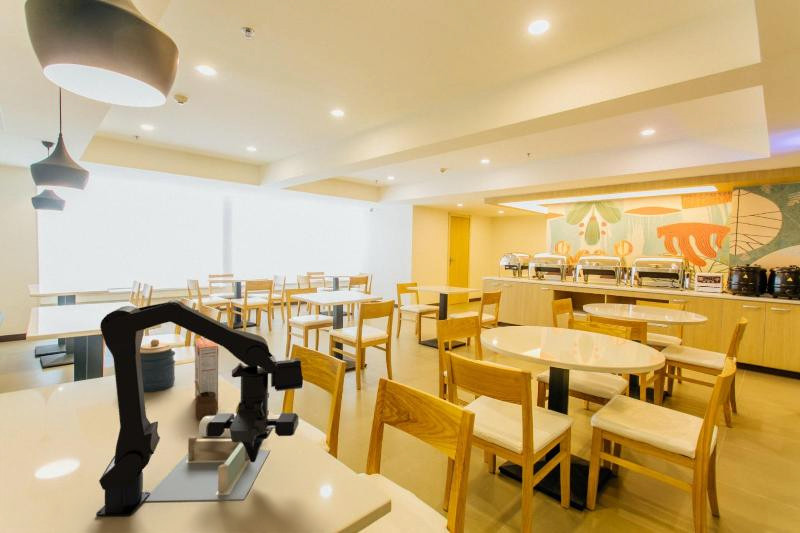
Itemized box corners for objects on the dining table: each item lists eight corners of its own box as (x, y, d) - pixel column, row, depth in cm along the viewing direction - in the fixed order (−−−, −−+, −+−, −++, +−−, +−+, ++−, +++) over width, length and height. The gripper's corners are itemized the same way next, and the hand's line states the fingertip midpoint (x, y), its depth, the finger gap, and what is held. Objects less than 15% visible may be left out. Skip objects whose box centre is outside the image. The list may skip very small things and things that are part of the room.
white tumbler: (197, 445, 99) (253, 443, 99) (194, 422, 98) (251, 420, 98) (210, 430, 106) (262, 428, 105) (208, 408, 104) (260, 407, 104)
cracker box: (193, 398, 127) (194, 338, 126) (213, 394, 131) (213, 336, 130) (197, 413, 116) (198, 347, 115) (218, 409, 119) (219, 345, 118)
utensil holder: (220, 415, 114) (221, 377, 114) (200, 423, 109) (201, 383, 109) (210, 410, 118) (210, 373, 117) (190, 417, 112) (190, 379, 112)
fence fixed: (251, 456, 92) (251, 434, 92) (248, 462, 90) (248, 439, 89) (191, 457, 91) (191, 434, 91) (186, 463, 89) (186, 439, 88)
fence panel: (238, 460, 89) (239, 440, 89) (246, 460, 89) (246, 440, 89) (216, 492, 77) (216, 469, 77) (225, 492, 77) (225, 469, 77)
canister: (143, 395, 128) (143, 345, 128) (126, 387, 135) (126, 339, 134) (182, 384, 139) (182, 338, 139) (164, 377, 146) (164, 333, 145)
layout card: (244, 499, 76) (244, 498, 76) (143, 501, 75) (143, 500, 75) (270, 450, 95) (270, 449, 95) (189, 451, 94) (190, 450, 94)
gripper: (193, 408, 74) (193, 484, 74) (288, 408, 75) (287, 483, 76) (217, 388, 85) (216, 454, 85) (299, 388, 86) (298, 453, 87)
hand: (253, 461), depth 83 cm, fingers closed
